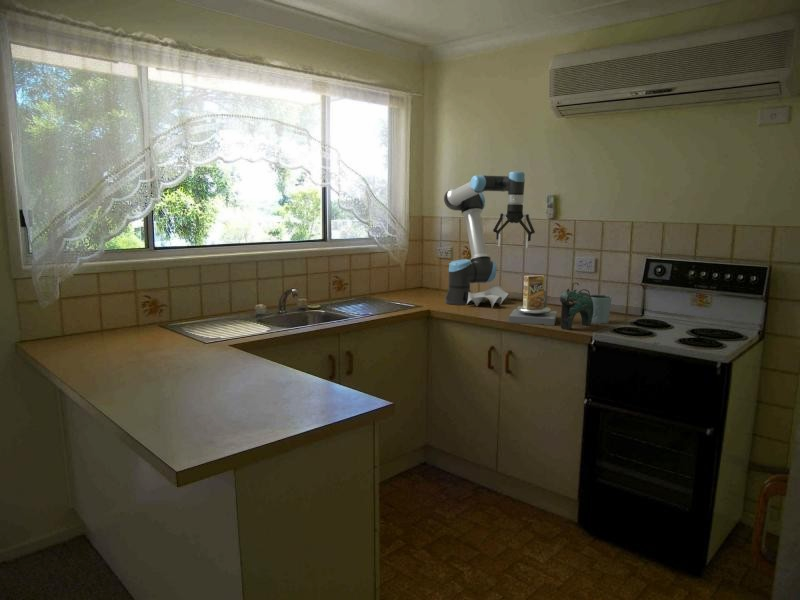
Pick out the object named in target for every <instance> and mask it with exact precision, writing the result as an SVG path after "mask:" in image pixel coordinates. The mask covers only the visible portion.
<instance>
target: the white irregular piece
mask: <svg viewBox="0 0 800 600" xmlns="http://www.w3.org/2000/svg"><path fill="white" fill-rule="evenodd" d="M509 295H510V293H509V292H506V291H505V290H504V289H503V288H502V286H500V285H498V284H497V285H492V286H491V287H490V288H488V289H487V290H485V291H479V292H471V293H470V292H468V301H467V303H468V302H469V301H470V300H473V303H474V305H476V306H475V307H479V306H478V305H480V303H483V302H484V303H486V298H487V299H488V300H489V305H490V304H491V305H490V306H491V308H493V307H494V305H495V304H498V305H500V304H501V305H502V303H503V301H504V300H505V303H506V302H507V301H508V298H509ZM501 305H500V306H501ZM465 306H467V304H466V305H465Z"/></svg>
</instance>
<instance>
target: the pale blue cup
mask: <svg viewBox="0 0 800 600" xmlns="http://www.w3.org/2000/svg"><path fill="white" fill-rule="evenodd" d="M590 296H591V298H592V301H593V316H592V321H591V323H592V322H593V323H594V324H600V323H604V324H609V322H610V312H611V307H612V306H611V305H612V300H613V297H612V296H611V295H608V294H590ZM593 323H592V324H593Z"/></svg>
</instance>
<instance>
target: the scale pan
mask: <svg viewBox="0 0 800 600" xmlns="http://www.w3.org/2000/svg"><path fill="white" fill-rule="evenodd" d="M516 309H517V311H520V312H524V313H532V314H536V313H537V314H539V313H549V312H550V311H552V310H551V308H550V307H547V306H546V307H544V308H543V309H525V308H523V305H520V306H517V308H516Z"/></svg>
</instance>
